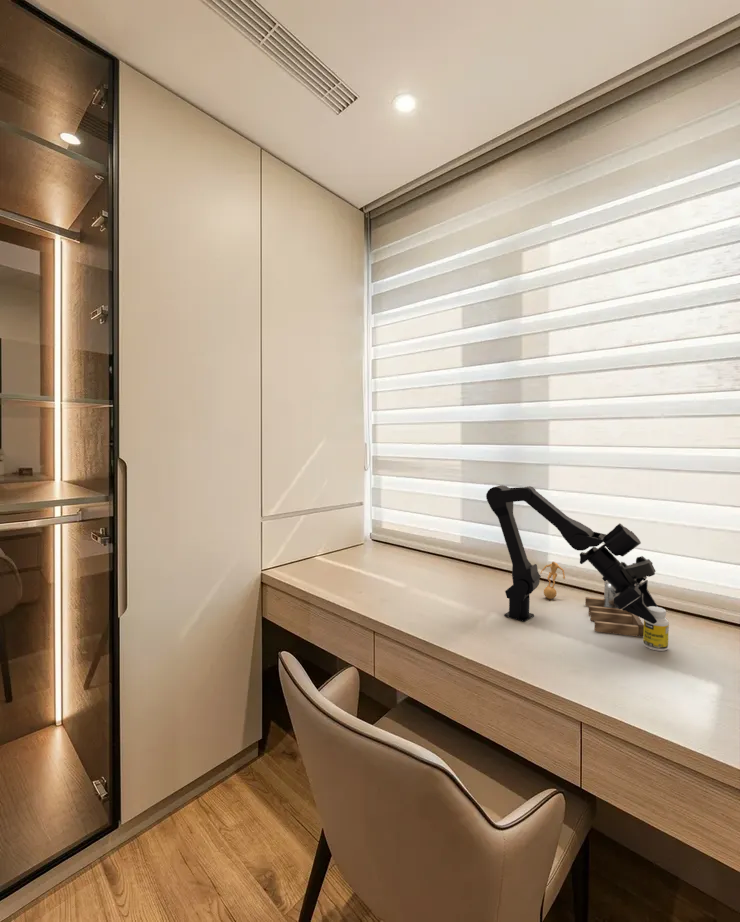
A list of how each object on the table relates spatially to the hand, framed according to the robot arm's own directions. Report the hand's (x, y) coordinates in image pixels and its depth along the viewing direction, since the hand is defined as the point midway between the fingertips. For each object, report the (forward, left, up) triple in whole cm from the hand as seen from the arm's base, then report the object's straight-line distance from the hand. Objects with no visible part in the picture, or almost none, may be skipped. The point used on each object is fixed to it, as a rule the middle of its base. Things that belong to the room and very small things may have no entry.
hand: (656, 616), depth 118 cm
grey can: (+17, +16, -8) cm, 24 cm away
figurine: (+16, +34, -8) cm, 38 cm away
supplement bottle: (0, 0, -8) cm, 8 cm away
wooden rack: (+11, +14, -8) cm, 19 cm away
